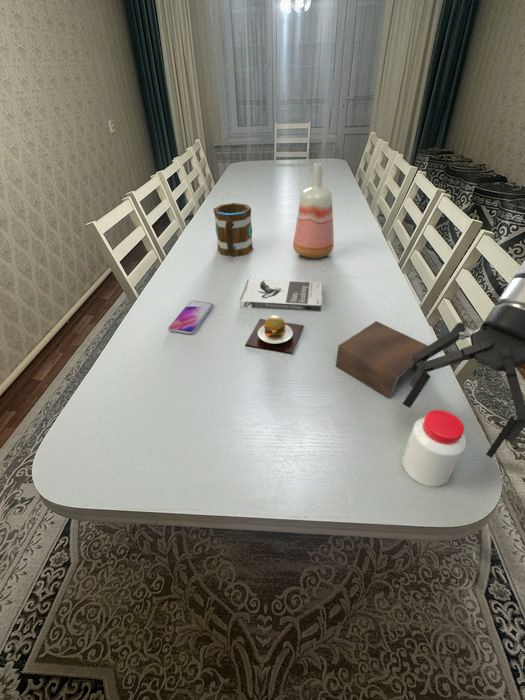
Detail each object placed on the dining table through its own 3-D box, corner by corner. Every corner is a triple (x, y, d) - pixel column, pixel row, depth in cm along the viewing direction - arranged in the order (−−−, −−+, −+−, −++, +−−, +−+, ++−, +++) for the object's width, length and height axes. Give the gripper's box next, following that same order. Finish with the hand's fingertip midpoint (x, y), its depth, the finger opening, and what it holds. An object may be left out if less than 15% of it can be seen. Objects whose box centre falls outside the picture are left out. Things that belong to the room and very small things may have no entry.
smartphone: (213, 303, 103) (192, 332, 92) (214, 305, 104) (192, 335, 93) (190, 299, 105) (166, 328, 94) (191, 302, 105) (167, 331, 94)
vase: (287, 248, 135) (289, 161, 116) (322, 243, 138) (329, 157, 120) (302, 264, 124) (306, 170, 106) (339, 258, 127) (350, 166, 109)
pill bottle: (435, 495, 57) (457, 454, 50) (392, 464, 61) (407, 422, 55) (458, 467, 61) (481, 424, 54) (416, 439, 65) (433, 397, 58)
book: (321, 287, 111) (322, 282, 109) (320, 311, 100) (321, 305, 99) (248, 284, 114) (248, 278, 112) (240, 307, 103) (239, 301, 102)
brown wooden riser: (424, 368, 80) (431, 347, 77) (389, 399, 73) (395, 377, 70) (371, 340, 89) (376, 320, 85) (335, 366, 82) (338, 345, 78)
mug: (220, 242, 141) (216, 203, 132) (254, 242, 141) (252, 202, 131) (212, 264, 126) (207, 221, 117) (250, 264, 125) (248, 220, 116)
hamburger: (303, 326, 94) (304, 309, 91) (292, 354, 85) (293, 335, 82) (260, 320, 97) (259, 302, 94) (245, 346, 89) (244, 327, 85)
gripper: (615, 358, 51) (529, 480, 53) (446, 294, 66) (383, 392, 68) (629, 344, 45) (532, 483, 47) (439, 278, 60) (371, 385, 62)
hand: (444, 429), depth 57 cm, fingers open, 13 cm apart
